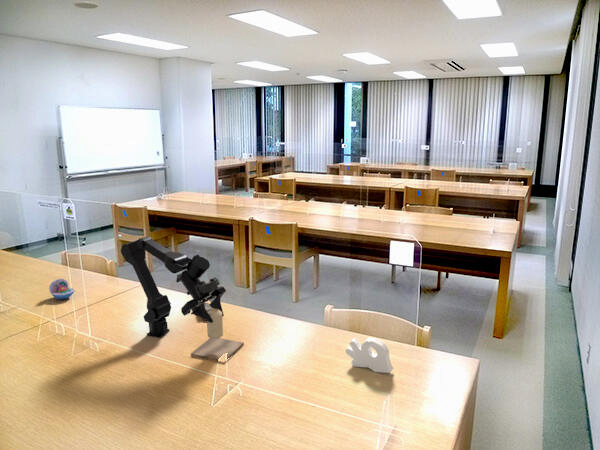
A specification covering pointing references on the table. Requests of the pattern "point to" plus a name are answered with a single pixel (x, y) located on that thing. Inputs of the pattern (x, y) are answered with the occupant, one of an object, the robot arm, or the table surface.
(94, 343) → the table surface
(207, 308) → the mineral rock
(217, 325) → the candle
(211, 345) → the walnut slab
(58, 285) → the cell model
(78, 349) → the table surface
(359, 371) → the table surface
